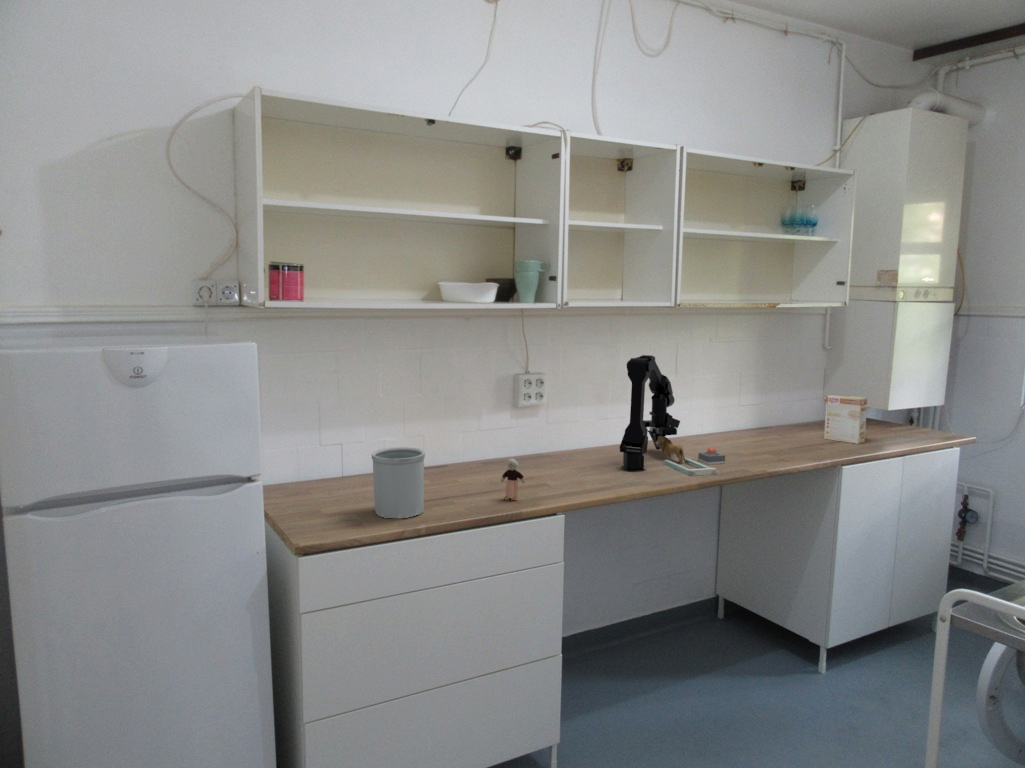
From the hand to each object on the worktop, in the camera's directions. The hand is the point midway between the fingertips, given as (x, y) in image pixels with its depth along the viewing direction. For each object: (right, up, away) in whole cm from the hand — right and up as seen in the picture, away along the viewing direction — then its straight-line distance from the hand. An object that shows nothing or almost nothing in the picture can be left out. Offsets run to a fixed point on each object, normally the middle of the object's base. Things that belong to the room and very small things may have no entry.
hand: (657, 449), depth 283 cm
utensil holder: (-89, -11, -77) cm, 118 cm away
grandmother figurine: (-57, -10, -63) cm, 86 cm away
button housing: (+18, -4, -11) cm, 21 cm away
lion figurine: (+3, -4, -9) cm, 11 cm away
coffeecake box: (+88, +1, +32) cm, 93 cm away
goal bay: (+7, -5, -22) cm, 24 cm away
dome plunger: (+18, -2, -11) cm, 21 cm away
